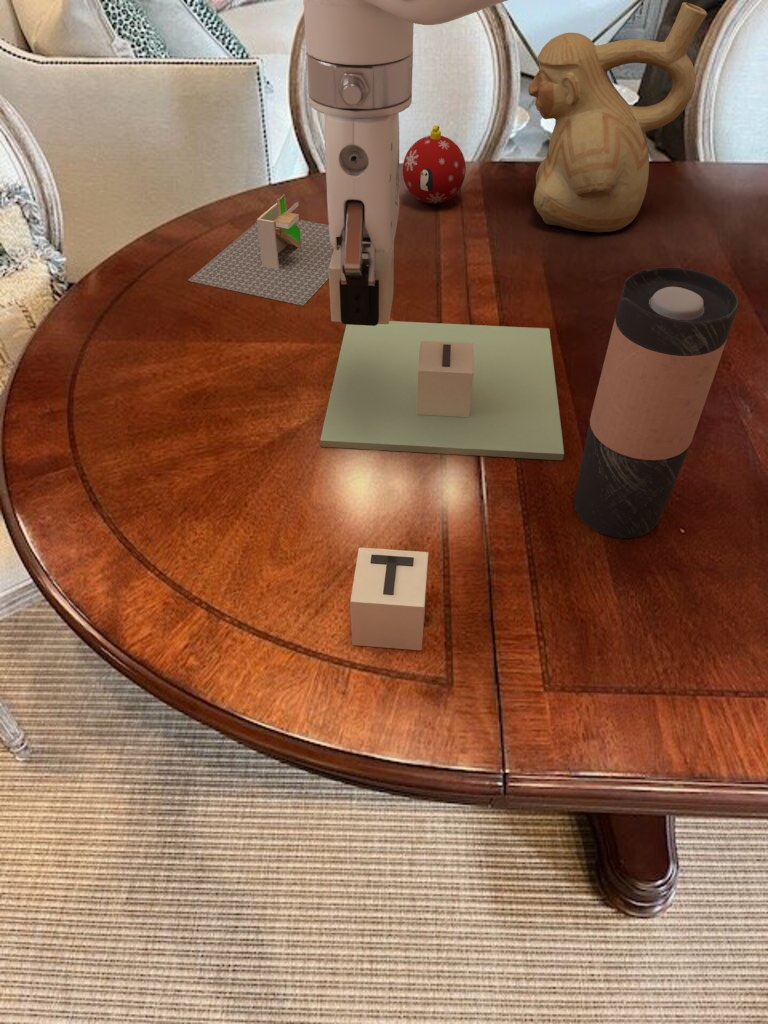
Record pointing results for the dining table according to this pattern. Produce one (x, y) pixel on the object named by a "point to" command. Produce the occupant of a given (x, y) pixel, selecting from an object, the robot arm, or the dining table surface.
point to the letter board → (486, 432)
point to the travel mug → (651, 396)
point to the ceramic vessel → (604, 124)
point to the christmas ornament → (434, 168)
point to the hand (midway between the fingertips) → (363, 304)
